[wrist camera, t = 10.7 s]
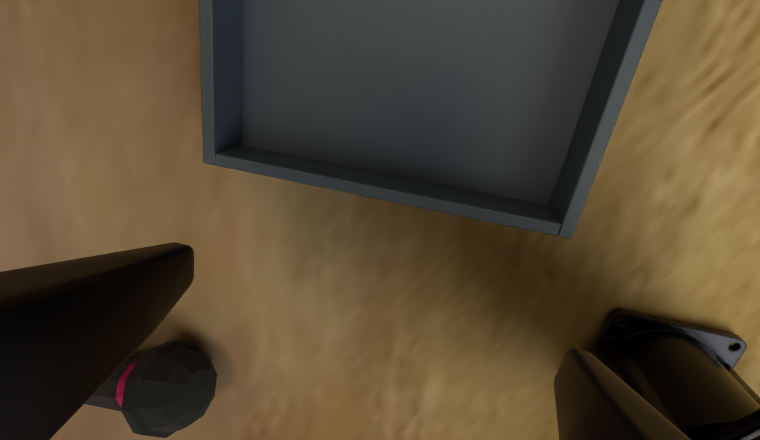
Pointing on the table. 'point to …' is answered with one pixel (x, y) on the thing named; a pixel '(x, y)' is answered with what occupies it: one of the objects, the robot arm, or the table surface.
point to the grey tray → (424, 98)
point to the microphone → (160, 389)
